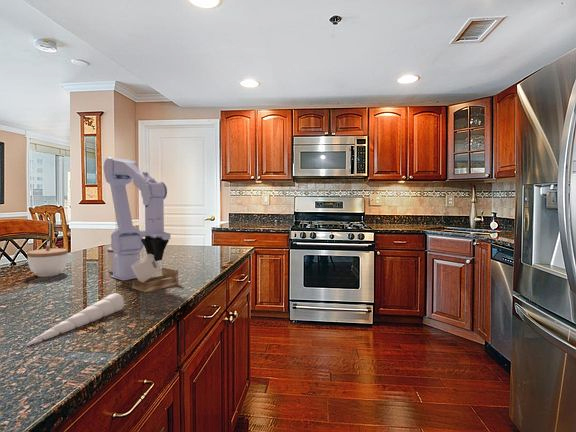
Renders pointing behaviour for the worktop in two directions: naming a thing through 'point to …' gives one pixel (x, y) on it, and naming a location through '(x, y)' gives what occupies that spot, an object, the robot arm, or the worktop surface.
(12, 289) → the worktop surface
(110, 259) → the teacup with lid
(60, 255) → the lidded bowl
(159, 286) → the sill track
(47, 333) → the unicorn horn
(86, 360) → the worktop surface
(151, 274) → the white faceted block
